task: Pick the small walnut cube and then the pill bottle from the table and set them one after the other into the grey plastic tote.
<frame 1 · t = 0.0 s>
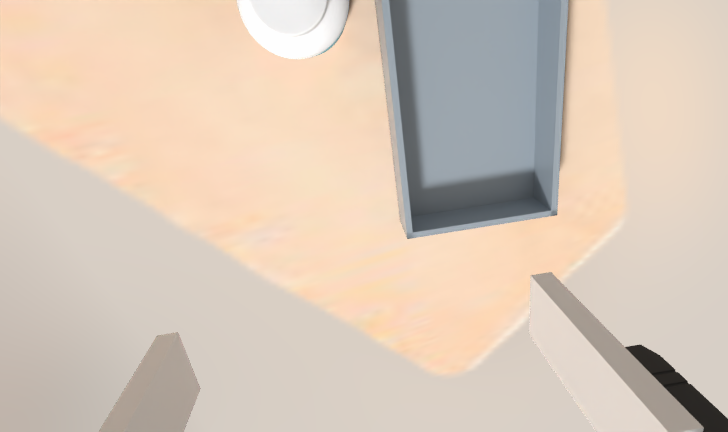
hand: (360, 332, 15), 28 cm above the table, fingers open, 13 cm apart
pill bottle: (304, 12, 36), on the table
tote: (463, 81, 39), on the table
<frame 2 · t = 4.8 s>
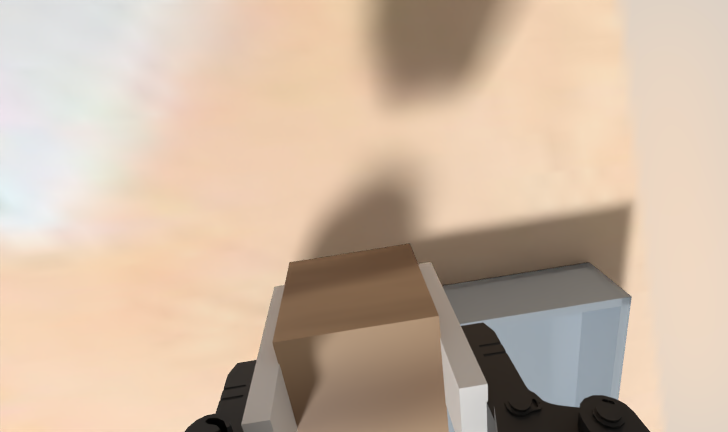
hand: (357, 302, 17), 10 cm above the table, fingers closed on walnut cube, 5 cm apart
walnut cube: (358, 303, 17), point 10 cm above the table, touching gripper
tote: (490, 415, 34), on the table
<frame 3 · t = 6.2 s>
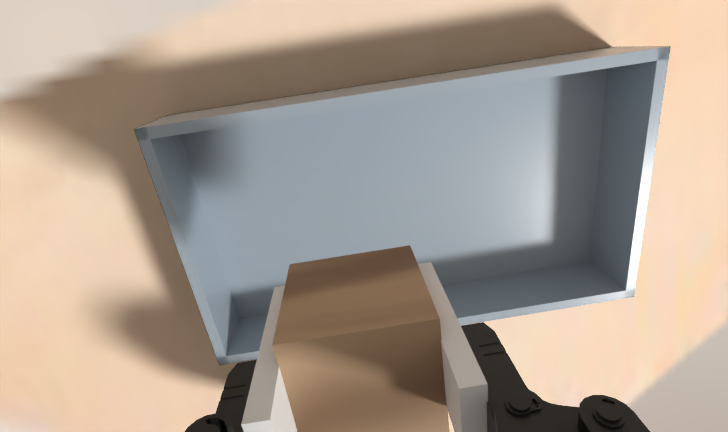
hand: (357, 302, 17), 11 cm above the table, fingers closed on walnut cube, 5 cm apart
walnut cube: (358, 305, 17), point 11 cm above the table, touching gripper
tote: (404, 197, 27), on the table
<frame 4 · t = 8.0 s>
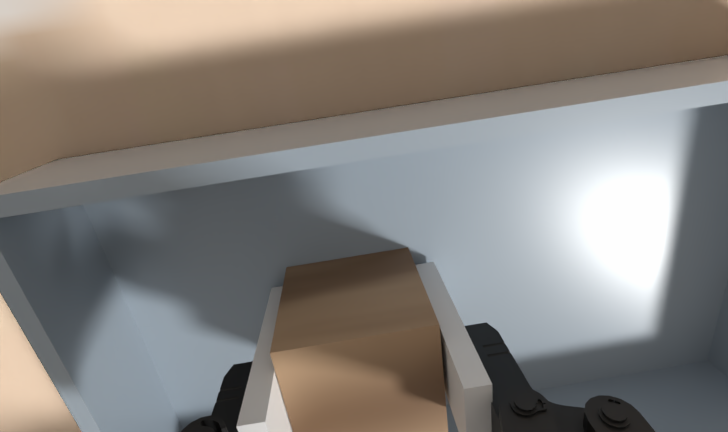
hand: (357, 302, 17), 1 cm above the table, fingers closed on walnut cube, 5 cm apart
walnut cube: (356, 307, 17), point 1 cm above the table, touching gripper, tote
tote: (440, 277, 18), on the table
when the fingers open (1 cm above the table, at t = 8.0 s): walnut cube stays where it is, resting on tote.
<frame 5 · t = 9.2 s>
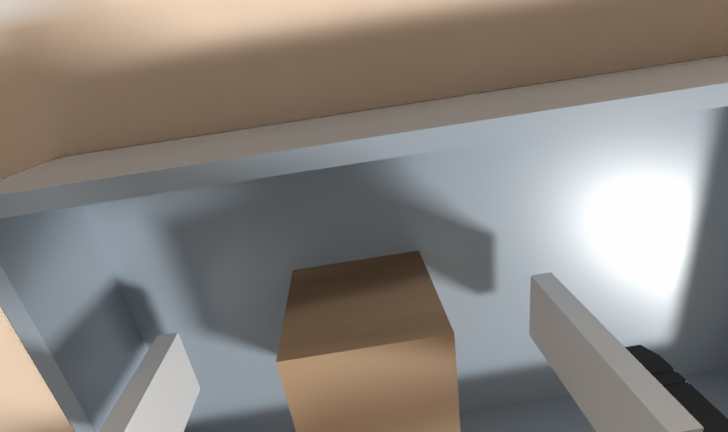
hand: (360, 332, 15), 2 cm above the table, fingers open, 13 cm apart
walnut cube: (364, 312, 17), point 1 cm above the table, touching tote
tote: (451, 281, 17), on the table
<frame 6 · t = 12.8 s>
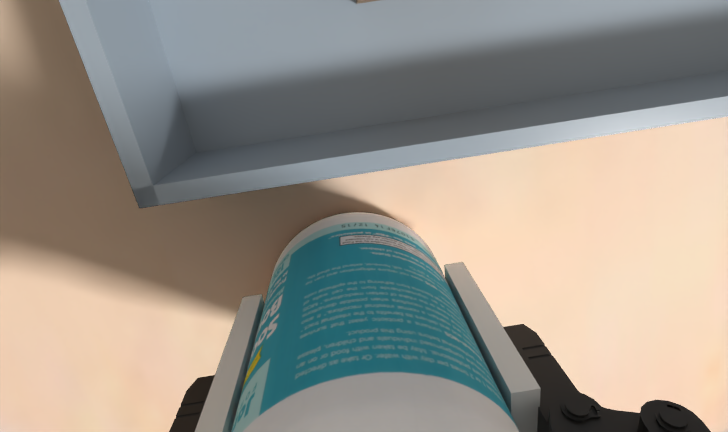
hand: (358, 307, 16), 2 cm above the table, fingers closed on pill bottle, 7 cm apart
pill bottle: (355, 279, 18), on the table, touching gripper
when the fingers open (5 cm above the table, at t = 18.7 s): pill bottle drops 2 cm, resting on tote.
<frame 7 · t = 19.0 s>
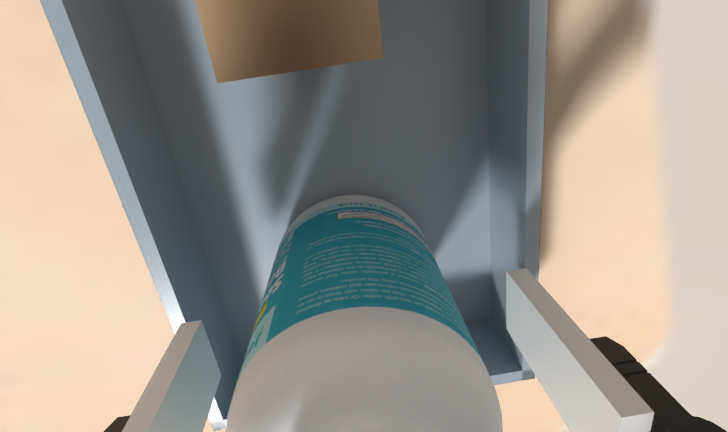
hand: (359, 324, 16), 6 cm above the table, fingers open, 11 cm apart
pill bottle: (352, 258, 20), resting on tote
tote: (325, 95, 18), on the table
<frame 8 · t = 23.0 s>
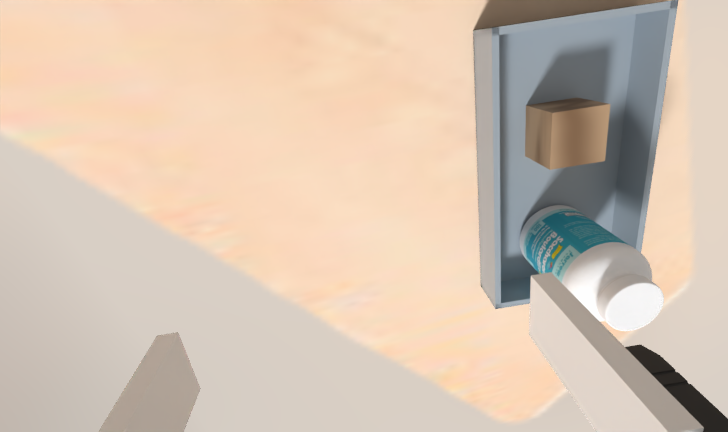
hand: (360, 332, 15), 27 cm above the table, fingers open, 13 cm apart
walnut cube: (550, 127, 39), point 1 cm above the table, touching tote
pill bottle: (548, 233, 44), resting on tote
tote: (549, 163, 41), on the table
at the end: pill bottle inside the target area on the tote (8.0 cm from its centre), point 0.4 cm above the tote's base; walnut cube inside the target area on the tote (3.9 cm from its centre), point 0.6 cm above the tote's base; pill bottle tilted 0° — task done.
